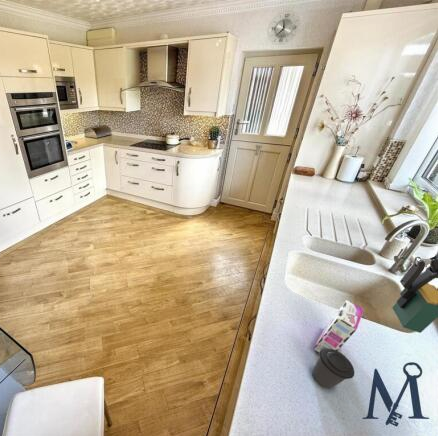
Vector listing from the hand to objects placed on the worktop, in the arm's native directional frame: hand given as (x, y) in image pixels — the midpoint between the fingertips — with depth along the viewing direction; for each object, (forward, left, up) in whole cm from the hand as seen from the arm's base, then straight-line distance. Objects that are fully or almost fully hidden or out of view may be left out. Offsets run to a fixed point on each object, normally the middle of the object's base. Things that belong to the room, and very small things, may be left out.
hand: (409, 307), depth 72 cm
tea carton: (0, +6, +3) cm, 6 cm away
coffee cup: (+20, +23, -18) cm, 35 cm away
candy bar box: (+17, +10, -18) cm, 27 cm away
